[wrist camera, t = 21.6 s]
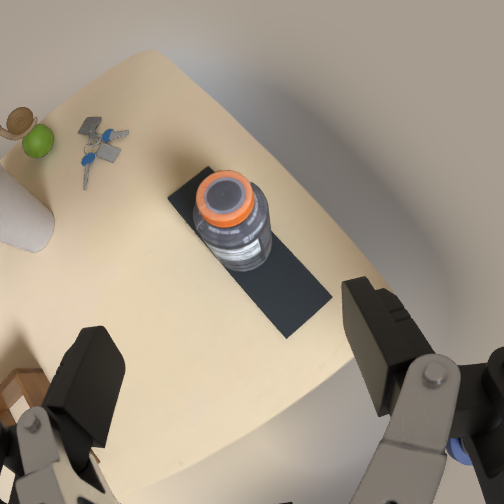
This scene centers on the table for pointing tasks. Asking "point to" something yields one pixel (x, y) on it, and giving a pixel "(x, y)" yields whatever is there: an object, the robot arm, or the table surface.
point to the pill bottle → (233, 220)
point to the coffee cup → (22, 216)
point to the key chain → (105, 149)
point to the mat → (267, 273)
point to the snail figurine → (28, 132)
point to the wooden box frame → (23, 392)
